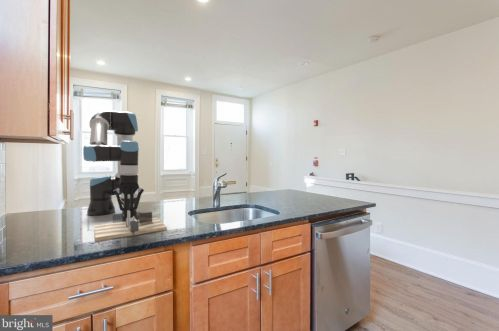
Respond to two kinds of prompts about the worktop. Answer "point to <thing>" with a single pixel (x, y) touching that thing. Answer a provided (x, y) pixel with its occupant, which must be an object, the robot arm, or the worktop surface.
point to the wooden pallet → (121, 230)
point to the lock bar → (133, 224)
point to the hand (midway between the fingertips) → (128, 224)
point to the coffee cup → (128, 204)
